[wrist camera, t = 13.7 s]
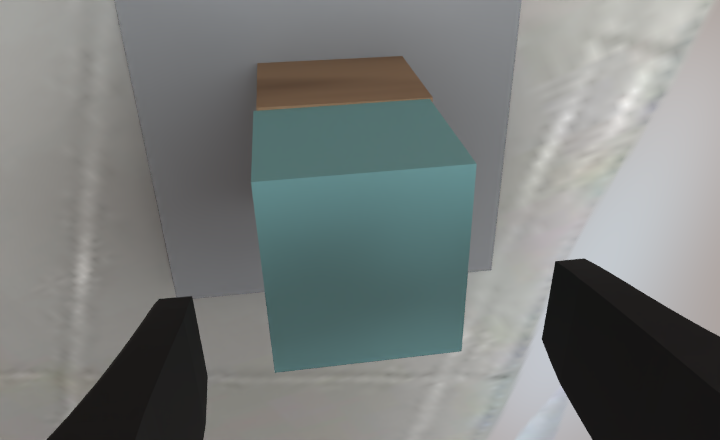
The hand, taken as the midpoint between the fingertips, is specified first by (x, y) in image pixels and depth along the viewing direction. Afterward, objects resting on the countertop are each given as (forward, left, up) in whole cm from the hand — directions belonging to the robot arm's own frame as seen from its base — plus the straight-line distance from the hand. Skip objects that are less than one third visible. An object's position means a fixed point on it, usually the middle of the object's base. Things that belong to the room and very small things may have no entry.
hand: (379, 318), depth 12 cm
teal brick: (0, 0, -5) cm, 5 cm away
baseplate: (0, 0, -10) cm, 10 cm away
